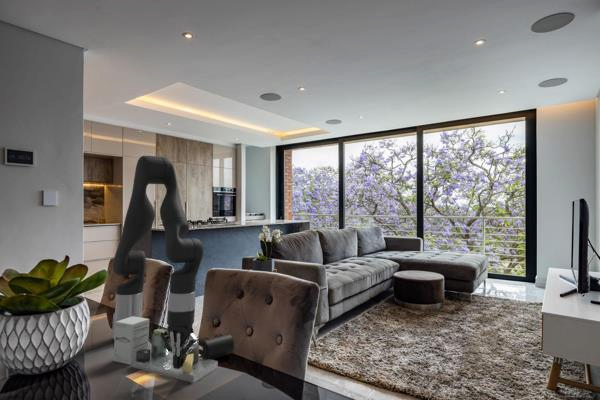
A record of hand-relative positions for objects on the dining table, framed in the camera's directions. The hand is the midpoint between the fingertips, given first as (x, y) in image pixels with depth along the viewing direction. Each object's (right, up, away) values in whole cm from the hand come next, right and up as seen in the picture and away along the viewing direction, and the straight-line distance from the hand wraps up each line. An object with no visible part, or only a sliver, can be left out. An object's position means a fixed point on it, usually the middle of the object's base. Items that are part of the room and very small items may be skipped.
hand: (177, 367), depth 97 cm
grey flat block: (-4, -3, +7) cm, 9 cm away
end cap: (+7, -5, +15) cm, 17 cm away
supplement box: (-20, -4, +12) cm, 24 cm away
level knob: (+2, -1, +3) cm, 4 cm away
